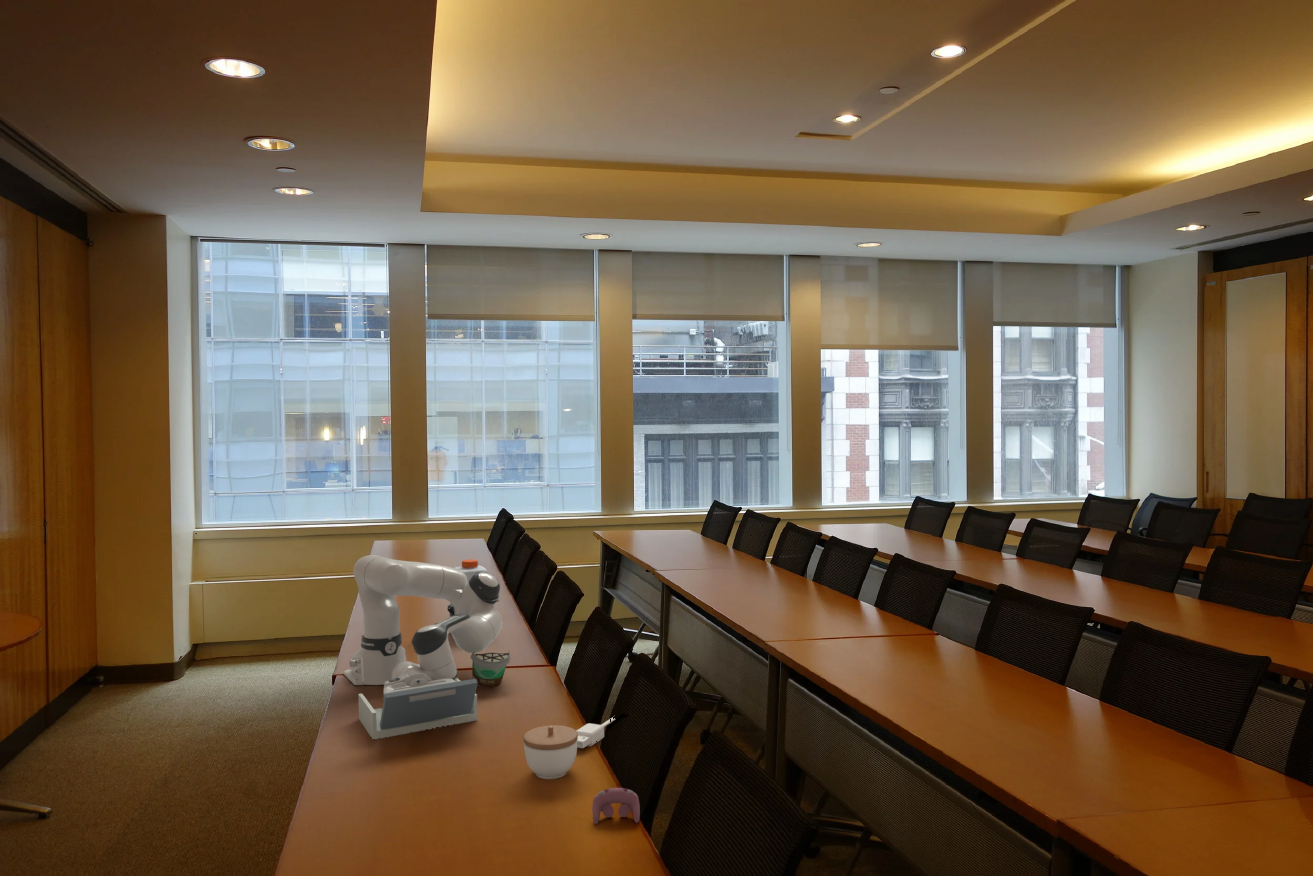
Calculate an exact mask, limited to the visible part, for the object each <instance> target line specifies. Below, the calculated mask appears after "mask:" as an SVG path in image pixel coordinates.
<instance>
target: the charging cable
mask: <svg viewBox="0 0 1313 876" xmlns="http://www.w3.org/2000/svg"><path fill="white" fill-rule="evenodd" d="M613 717H614V716H613ZM613 717H611V718H609V719H608V720H606V721H605V722H603V723H602V724H598V723H597V724H596V723H590V722H589V723H586V724H584V725H583V726H582V727H580V728H578V729H576V732H577V733H578V739H577V748H579V749H584V748H585V747H592V746H593V745H595V744H597V743H598V742H599V741H601V740H602V739H604V738H605V727H606V726H607V725H610V724H611V723H613V721H615V720H616V719H615V718H614V719H613ZM610 719H611V722H610ZM596 741H597V742H596Z"/></svg>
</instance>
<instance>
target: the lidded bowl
mask: <svg viewBox="0 0 1313 876" xmlns="http://www.w3.org/2000/svg"><path fill="white" fill-rule="evenodd" d="M576 731H577V729H574V728H573V727H570V726H567V725H566V726H565V725H558V724H556V725H543V726H537V727H535V728H532V729H529V730H528V731H526V732H525V733H524V735H523V744H524V745H523V746H524V755H525V756H524V757H525V760H526V764H527V765H528V767H529V769H530V770H531V771H532V772H533V773H534V774H535V775H536V777H538V778H540V779H543V780H555V779H559V778H562V777H564V776H566V774H567V772H568V771H570V769H571V768H572V766H573V765H574V763H575V761H576V758H577V751H578V747H577V739H578V733H577V732H576Z"/></svg>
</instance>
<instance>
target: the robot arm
mask: <svg viewBox="0 0 1313 876" xmlns="http://www.w3.org/2000/svg"><path fill="white" fill-rule="evenodd" d="M454 568H455V567H450V566H448V565H447V566H446V565H442V564H436V563H435V564H434V563H428V562H420V561H409V560H408V561H407V560H399V559H394V558H389V557H386V556H382V555H378V554H370V555H364V556H362V557H360V558H358V559H357V561H356V562H355V564H354V566H353V570H352V574H353V578H354V579H355V581H356V584H357V585H356V586H357V589H358V593H359V599H360V603H361V608H362V609H361V610H362V618H363V621H362V622H363V623H362V625H363V635H361V636H360V637H361V641H360V642H361V643H360V648H359V649H358V650H356V652H355V653H354V654H353V655H352V657H351V660H349V667H350V668H348V669H346V670H344V672H343V675H344V676H345V677H346V678H347V679H348V680H349V681H350V682H351V683H352V684H353V685H354V686H364V685H366V686H380V685H383V691H382V692H383V696H384V695H385V693H391V692H397V691H403V690H409V689H416V688H422V687H428V686H434V685H440V684H446V683H452V682H457V681H455V680H454V679H455V678H457V676H458V669H457V667H456V666H457V665H456V662H455V659H454V657H453V652H452V649H451V645H450V642H449V634H451V637H452V638H453V640H454V643H455V644H456V645H457V647H458V648H459V649H460V650H462V651H464V652H465V653H469V654H472V653H473V652H474V654H479V653H481V652H482V651H484V650H485V649H487V648H488V647H489V646H490V645H491V644H492V643H493V642H494V641H495V640H496V638H497V636H498V635H499V633H500V632H501V630H502V627H503V621H504V620H503V618H502V615H501V613H500V612H499V611H498V610H496V609H495V605H496V603H498V602H499V601H500V595H499V594H500V589H501V584H500V582H499V579H498V578H497V577H496V576H495V575H494V574H492V573H491V572H489V571H488V572H482V571H481V572H477V573H475V574H474V575H473V576H472V577H471V578H470V580H469V582H467V577H466V575H465V574H464V573H463V572H462V571H460V570H457V569H454ZM395 596H400V597H401V596H402V597H403V596H404V597H405V596H406V597H407V596H410V597H412V596H413V597H417V598H418V597H420V598H421V597H422V598H427V599H429V598H430V599H440V600H445V601H448V602H449V604H448V605H447V612H448V613H449V617H447V618H444V619H442V620H440V621H437V622H436V623H433V624H431V625H426V626H423V627H421V628H419V629H417V630H416V631H415V633H414V635H413V636H412V639H411V645H412V647H413V650H414V652H415V654H416V657H417V658H416V659H417V661H418V663H414V662H412V661H410V660H409V661H408V660H407V656H406V655H407V654H406V649H405V648H404V647H403V646H402V644H403V643H402V640H403V637H402V633H401V632H400V631H401V630H400V629H401V624H400V620H401V619H400V616H401V615H400V607H399V605H398V603H397V601H396V597H395Z"/></svg>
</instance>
